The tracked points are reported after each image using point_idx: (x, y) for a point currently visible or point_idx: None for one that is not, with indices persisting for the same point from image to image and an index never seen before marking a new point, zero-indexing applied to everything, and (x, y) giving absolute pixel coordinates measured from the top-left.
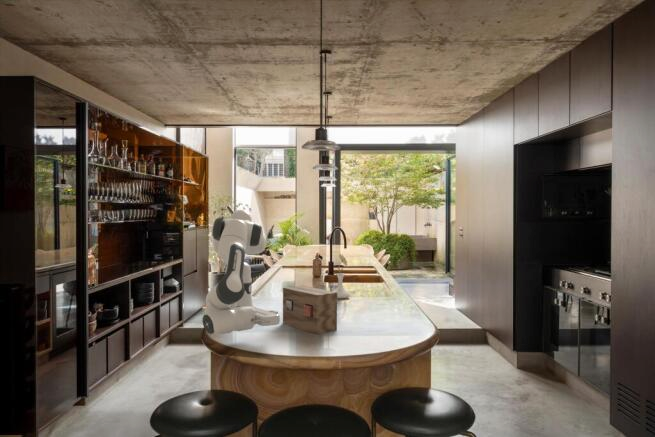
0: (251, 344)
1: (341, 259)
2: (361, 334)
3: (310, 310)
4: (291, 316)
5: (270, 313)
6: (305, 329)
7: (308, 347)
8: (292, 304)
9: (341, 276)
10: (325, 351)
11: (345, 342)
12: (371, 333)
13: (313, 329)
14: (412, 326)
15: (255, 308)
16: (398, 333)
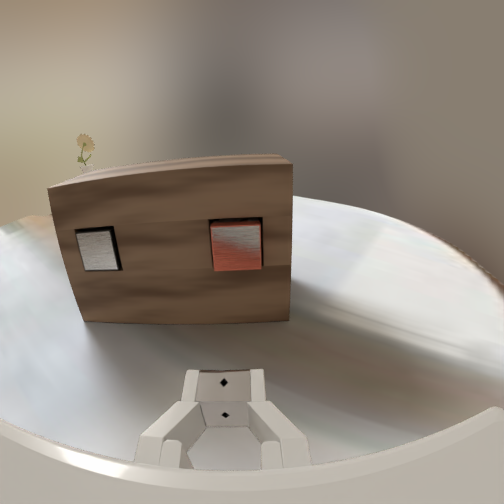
0: None
1: (82, 143)
2: (347, 258)
3: (260, 242)
4: (120, 290)
5: (452, 479)
6: (217, 319)
7: (457, 399)
8: (114, 243)
9: (90, 168)
10: (500, 365)
11: (415, 301)
12: (347, 246)
13: (269, 309)
14: (325, 209)
15: (38, 479)
16: (364, 228)
